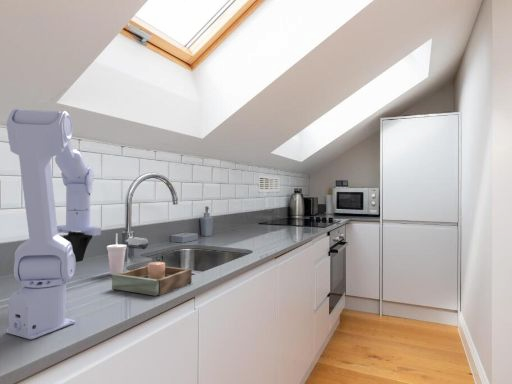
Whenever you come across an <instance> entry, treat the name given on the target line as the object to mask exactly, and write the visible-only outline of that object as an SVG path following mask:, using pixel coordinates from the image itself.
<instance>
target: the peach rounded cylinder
mask: <svg viewBox="0 0 512 384" xmlns="http://www.w3.org/2000/svg"><path fill="white" fill-rule="evenodd" d="M147 266H148V278H150V279H157V280H158V279H161V278H164V277H165V266H166V262H163V261H151V262H148V263H147Z"/></svg>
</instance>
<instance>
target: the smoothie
mask: <svg viewBox="0 0 512 384" xmlns="http://www.w3.org/2000/svg"><path fill="white" fill-rule="evenodd" d="M118 234H119V233H117V232H116V233H115V244H109V245H107V246H106V250H107V255H108V256H107V257H108V263H109V264H108V265H109V273H110V276H112V275H113V274H119V273H123V271H124V264H125V258H126V257H125V256H126V249H128V247H127V244H124V243H123V244H122V243H121V244H120V243H118V240H119V239H118V237H119V236H118Z"/></svg>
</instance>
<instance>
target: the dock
mask: <svg viewBox="0 0 512 384" xmlns="http://www.w3.org/2000/svg"><path fill="white" fill-rule="evenodd" d="M192 273H193V271H192V269H190V268H183V267H174V266H173V267H172V266H166V265H165V274H169V275H170V276H167V277H164V278H161V279H158V280H159V294H158V295H157V296H161V295H165V294H166V293H170V292H172V291H174V290H177V289H179V288H182V287H184V286H186V285H188V284H190V283H191V284H192V275H193V274H192ZM119 274H121V275H128V276H136V277H142V276H146V275H148V265H145V266H142V267H139V268H133V269H131V270H127V271H124V272H123V273H119ZM176 288H177V289H176ZM171 290H172V291H171Z"/></svg>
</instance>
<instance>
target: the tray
mask: <svg viewBox="0 0 512 384" xmlns="http://www.w3.org/2000/svg"><path fill="white" fill-rule="evenodd" d="M167 276H170V275H169V274H165V277H167ZM111 289H113V290H116V291H117V290H119V291H124V292H131V293H137V294H144V295H148V296H149V295H150V296H155V297H156V296H159V295H158V294H159V280H157V279H150V278H148V275H146V276H142V277H136V276H128V275H121V274H113V275H111Z"/></svg>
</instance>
